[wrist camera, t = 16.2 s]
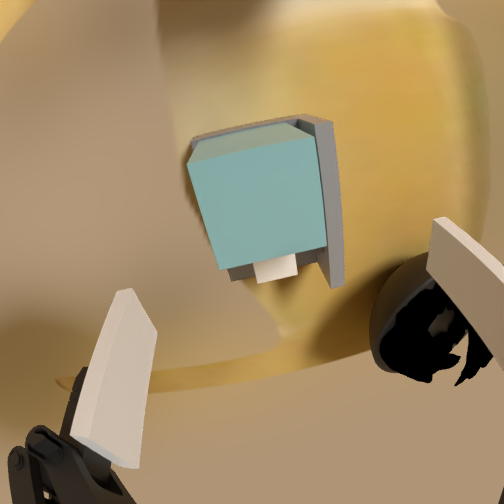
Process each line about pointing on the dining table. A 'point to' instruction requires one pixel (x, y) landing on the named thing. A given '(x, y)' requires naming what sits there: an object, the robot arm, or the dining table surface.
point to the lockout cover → (259, 194)
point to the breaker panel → (333, 253)
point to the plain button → (275, 268)
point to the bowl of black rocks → (421, 327)
